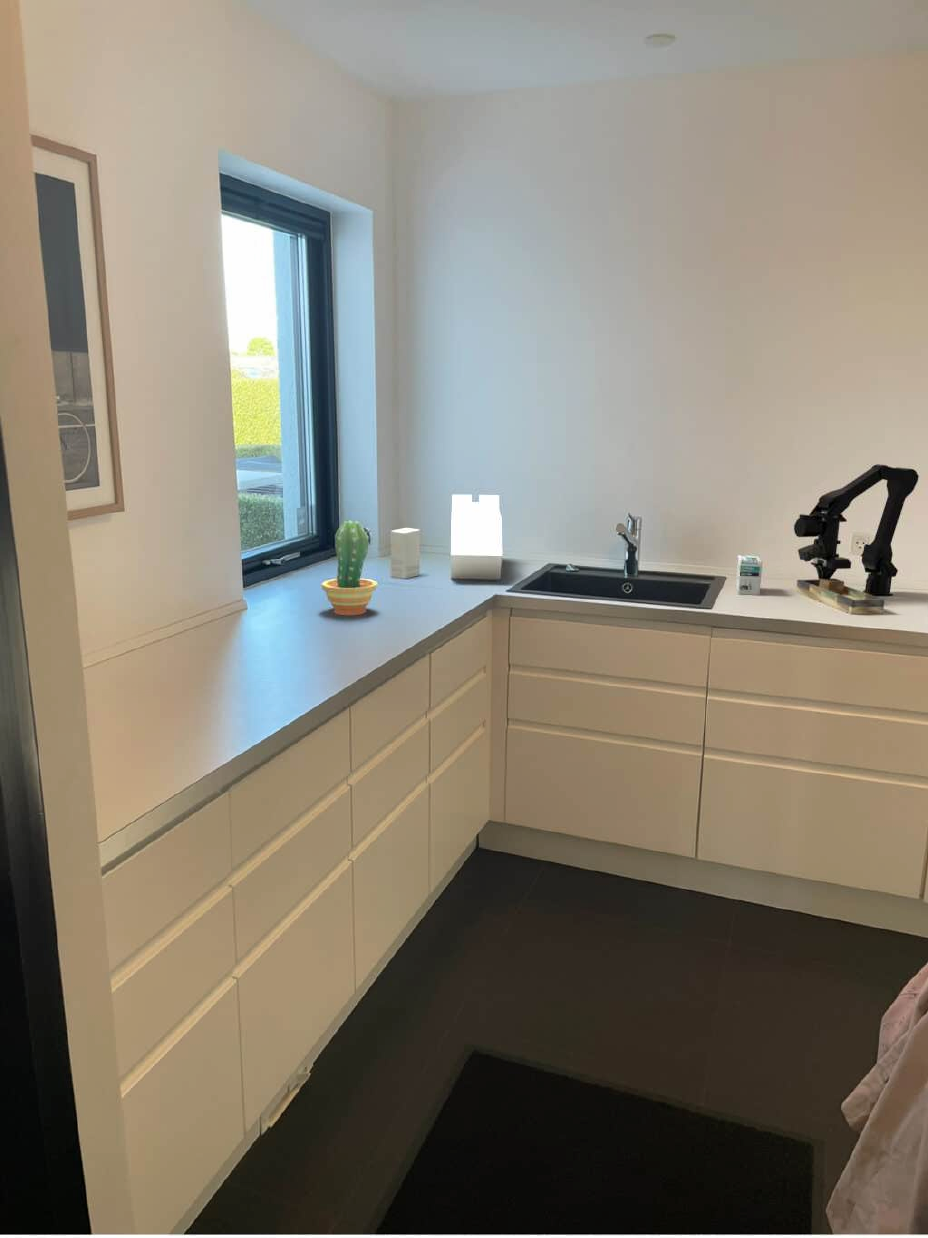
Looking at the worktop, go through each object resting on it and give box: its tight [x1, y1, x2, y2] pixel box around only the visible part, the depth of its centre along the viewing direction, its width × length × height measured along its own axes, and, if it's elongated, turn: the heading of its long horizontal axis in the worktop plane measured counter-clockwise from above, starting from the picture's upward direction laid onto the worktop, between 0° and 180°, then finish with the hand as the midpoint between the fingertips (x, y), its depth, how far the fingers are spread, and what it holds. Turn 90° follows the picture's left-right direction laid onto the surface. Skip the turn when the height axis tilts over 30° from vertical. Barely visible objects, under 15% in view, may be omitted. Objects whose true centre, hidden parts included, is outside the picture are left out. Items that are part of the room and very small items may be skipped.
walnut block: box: [819, 577, 845, 595], centre depth 279 cm, size 5×5×4 cm
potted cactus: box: [321, 520, 378, 616], centre depth 252 cm, size 15×15×25 cm
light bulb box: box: [735, 554, 763, 596], centre depth 289 cm, size 11×7×11 cm, turn 169°
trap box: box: [795, 578, 886, 615], centre depth 276 cm, size 10×30×4 cm, turn 10°
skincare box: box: [390, 527, 421, 580], centre depth 304 cm, size 8×7×16 cm
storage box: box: [450, 494, 503, 580], centre depth 312 cm, size 26×16×35 cm
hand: (822, 586), depth 284 cm, fingers closed
